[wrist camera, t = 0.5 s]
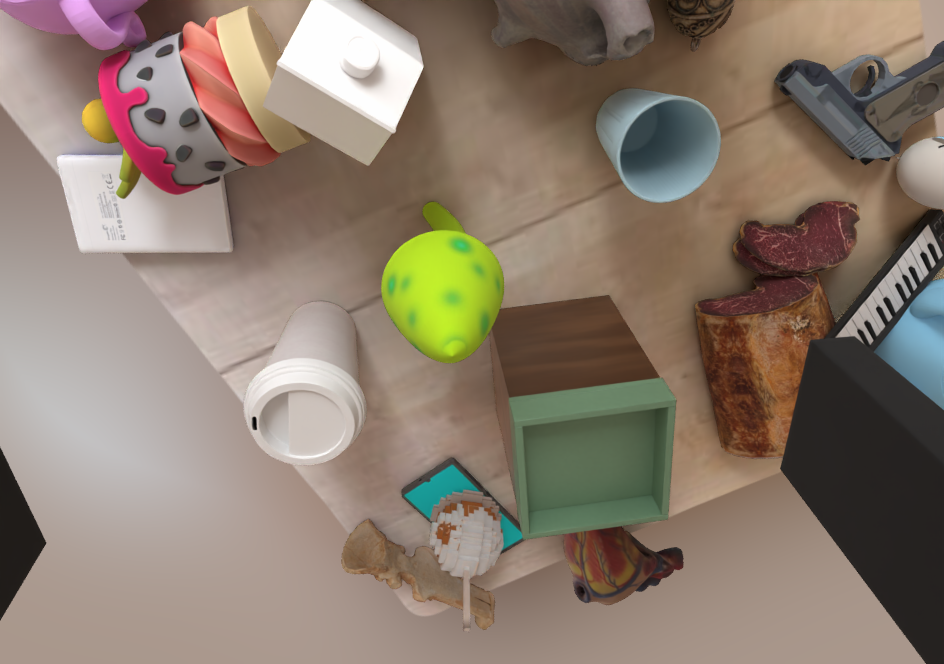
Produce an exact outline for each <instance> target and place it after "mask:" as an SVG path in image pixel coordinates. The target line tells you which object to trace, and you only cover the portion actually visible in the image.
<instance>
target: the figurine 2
mask: <svg viewBox="0 0 944 664" xmlns="http://www.w3.org/2000/svg"><path fill="white" fill-rule="evenodd" d="M896 158H897V159H899V161H898V163H897V168H896V175H897V180H898V183H899V185H900V187H901V188H902V190H903V191H904V192H905V193H906V194H907V195H908V196H909V197H910V198H911V199H913V200H914V201H916V202H918V203H920V204H922V205H925V206H928V207H931V208H936V209H944V137H932V138H927V139H924V140H921V141H919V142H916V143H915V144H913V145H911V146H910V147H909V148H908V149H906V150H905V151H904V153H903V154H902V155H901V157H900V158H898V157H896Z"/></svg>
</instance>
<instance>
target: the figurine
mask: <svg viewBox="0 0 944 664" xmlns="http://www.w3.org/2000/svg"><path fill="white" fill-rule="evenodd" d="M404 553H405V548H404V547H403V546H401V545H396V544H394V543H392V542H390V541H389V540H387V538H386V536H385V534H383V533H382V532H380V531H378V530H377V529H376V527H375V526H374V525H373V523H372V522H371V521H370V520H369V519H368V520H366V521H364V522H363V523H361V524H360V525H359V526H357V527H356V529H355V530H354V531H353V532H352V533H351V534H350V536H349V538H348V539H347V541H346V544H345V546H344V549H343V553H342V560H341V563H342V567H343V569H344V570H345V571H346V572H348V573H352V574H367V573H368V574H372V575H374V576H375V578H376V580H378V581H380V582H381V581H382V580H383V579H386V582H387V584H388V585H389V586H390V588H392V589H397V588H399V587H400V586H401V585H402V581H401V579H403V580H404V581H405V582H406V583H408V584H410V585H411V586H412V589H413V598H414V600H416V601H420V602H425V601H426V600H427V599H429V600H430V601H431V600H432V599H434V600H438V601H441V602H443V603H446V604H448V605H450V606H453V607H456V608H459V609H461V610H463V580H462V579H461V578H459V577H457V576H451V575H450V574H449V573H450V572H449V571H444V570H441V569H440V567H441V564H440V563H438V557H437V556H436V554H434V550H432V549H430V548H428V547H427V546H422V547H418V548H417V549H416V550H415V553H414V556H413V557H408V556H406V555H404ZM494 606H495V600H494V595H493V594H492V593H491V592H490V591H485V590H484V589H481V588H479V587H476V586H475V585H473V584H470V614H472V615H475V622H476V624H477V625H478V627H480V628H482V629H483V630H486V629H487V628H488V627H489V626H490V625H491V624H493V623H494Z"/></svg>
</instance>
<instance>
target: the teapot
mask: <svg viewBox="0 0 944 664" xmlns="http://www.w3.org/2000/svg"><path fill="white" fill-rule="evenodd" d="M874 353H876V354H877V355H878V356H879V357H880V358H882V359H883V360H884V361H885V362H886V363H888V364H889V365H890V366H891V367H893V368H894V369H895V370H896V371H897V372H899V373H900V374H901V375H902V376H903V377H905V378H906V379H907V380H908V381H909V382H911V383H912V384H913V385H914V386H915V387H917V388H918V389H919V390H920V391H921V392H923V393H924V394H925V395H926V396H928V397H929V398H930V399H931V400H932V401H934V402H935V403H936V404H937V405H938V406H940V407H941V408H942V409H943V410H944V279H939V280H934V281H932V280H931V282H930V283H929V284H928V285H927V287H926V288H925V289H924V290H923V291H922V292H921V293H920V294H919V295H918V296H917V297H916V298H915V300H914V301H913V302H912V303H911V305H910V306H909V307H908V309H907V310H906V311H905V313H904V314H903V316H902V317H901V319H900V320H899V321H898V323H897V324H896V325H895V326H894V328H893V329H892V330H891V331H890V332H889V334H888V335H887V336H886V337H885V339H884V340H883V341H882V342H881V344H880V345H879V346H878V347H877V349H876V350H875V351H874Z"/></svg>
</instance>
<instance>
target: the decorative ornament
mask: <svg viewBox="0 0 944 664" xmlns="http://www.w3.org/2000/svg"><path fill="white" fill-rule="evenodd" d="M498 512H499V506H496V503H495V502H493V501H492V498H491V497H485V496H483V492H477V491H470V490H463V493H459V492H452V495H446V498H443V497H441V498H440V502H439V505H435V504H434V506H433V510H432V513H431V517H430V521H433V522H432V525H431V528H430V535H429V545H432V548H434V554H436V556H437V557H438V563H440V564H441V567H440V569H441V570H444V571H450V573H449V574H450V575H451V576H457V577H463V631H465V632H469V631H470V578H471V579H472V577H473V576H474V575H481V576H482V574H483V573H485V572H487V570H489V569H490V566H494V565H495V562H496V559H497V558H499V556H500V553H501V551H502V548H503V545H504V543H503V529H501V528H500V521H501V518H502V514H500V513H498Z"/></svg>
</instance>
